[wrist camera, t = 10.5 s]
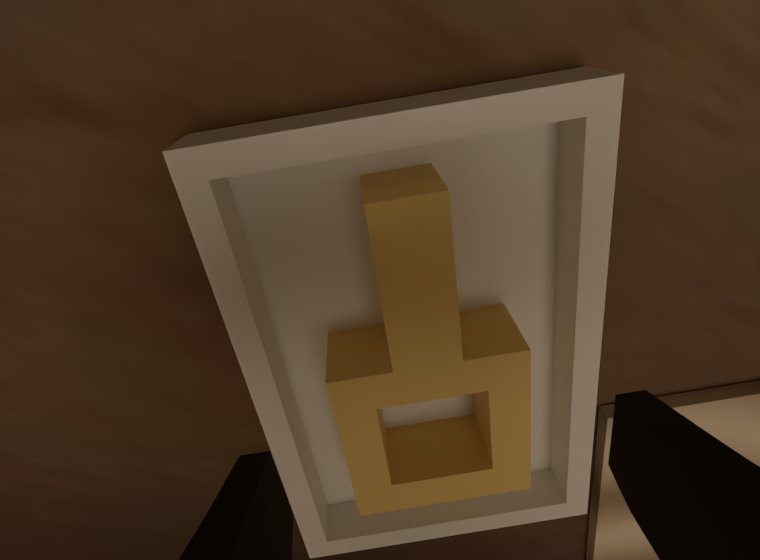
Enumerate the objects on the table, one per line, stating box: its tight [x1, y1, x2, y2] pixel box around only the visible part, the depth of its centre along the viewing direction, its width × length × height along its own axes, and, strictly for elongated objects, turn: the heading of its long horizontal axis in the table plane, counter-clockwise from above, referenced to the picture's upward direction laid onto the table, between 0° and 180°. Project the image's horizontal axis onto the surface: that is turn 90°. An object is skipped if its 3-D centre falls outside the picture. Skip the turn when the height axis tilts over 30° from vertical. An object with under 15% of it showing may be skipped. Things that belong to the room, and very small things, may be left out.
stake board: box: [586, 380, 760, 560], centre depth 23 cm, size 13×12×6 cm
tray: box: [162, 67, 624, 558], centre depth 19 cm, size 19×13×2 cm
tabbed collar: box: [326, 163, 531, 516], centre depth 18 cm, size 13×7×3 cm, turn 9°
